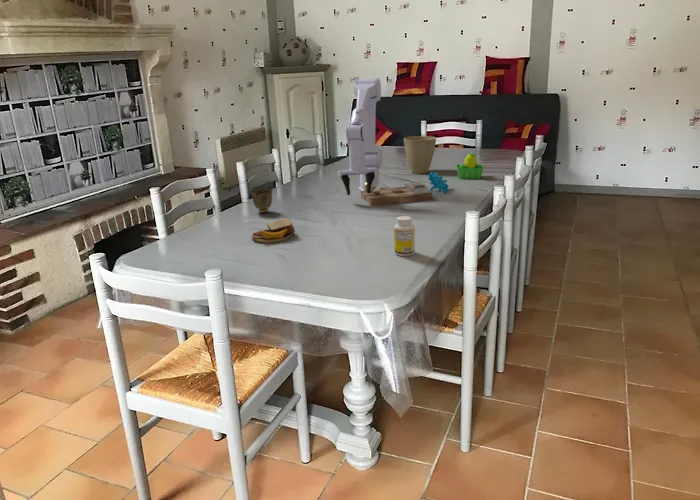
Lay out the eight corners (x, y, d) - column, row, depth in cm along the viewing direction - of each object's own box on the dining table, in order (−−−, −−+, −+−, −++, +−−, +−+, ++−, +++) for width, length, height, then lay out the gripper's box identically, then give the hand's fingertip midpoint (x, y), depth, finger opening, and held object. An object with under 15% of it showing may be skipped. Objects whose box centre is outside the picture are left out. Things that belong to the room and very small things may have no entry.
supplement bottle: (402, 248, 159) (401, 214, 156) (418, 252, 156) (418, 216, 152) (390, 254, 155) (389, 218, 152) (407, 258, 152) (406, 221, 148)
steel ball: (370, 193, 214) (370, 184, 213) (379, 192, 215) (379, 183, 214) (373, 195, 211) (373, 186, 210) (382, 194, 212) (382, 185, 211)
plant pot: (437, 175, 255) (438, 139, 250) (405, 176, 255) (404, 140, 250) (433, 168, 269) (434, 135, 264) (402, 169, 270) (402, 136, 264)
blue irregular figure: (439, 191, 217) (426, 171, 220) (429, 200, 221) (416, 180, 224) (455, 189, 225) (442, 170, 228) (445, 198, 229) (432, 179, 232)
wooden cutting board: (361, 197, 220) (360, 191, 219) (418, 191, 225) (418, 185, 224) (371, 205, 206) (371, 199, 206) (432, 199, 212) (432, 193, 211)
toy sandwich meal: (250, 234, 179) (249, 220, 178) (292, 230, 182) (291, 216, 180) (253, 246, 168) (251, 231, 166) (297, 241, 170) (296, 226, 169)
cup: (277, 210, 206) (275, 188, 203) (268, 215, 199) (266, 193, 197) (259, 209, 208) (257, 188, 206) (249, 214, 202) (247, 192, 199)
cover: (405, 189, 219) (405, 182, 218) (418, 187, 220) (418, 180, 219) (413, 194, 210) (413, 187, 209) (427, 193, 211) (427, 185, 210)
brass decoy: (362, 191, 219) (361, 181, 218) (372, 190, 220) (371, 180, 219) (365, 193, 215) (364, 183, 214) (375, 192, 216) (374, 182, 215)
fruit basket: (481, 175, 250) (482, 150, 246) (484, 179, 242) (485, 153, 238) (455, 176, 251) (456, 150, 248) (457, 180, 243) (457, 154, 239)
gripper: (340, 161, 201) (342, 197, 206) (379, 157, 205) (379, 194, 209) (335, 158, 208) (337, 193, 212) (373, 154, 211) (374, 190, 216)
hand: (358, 193), depth 211 cm, fingers open, 7 cm apart
